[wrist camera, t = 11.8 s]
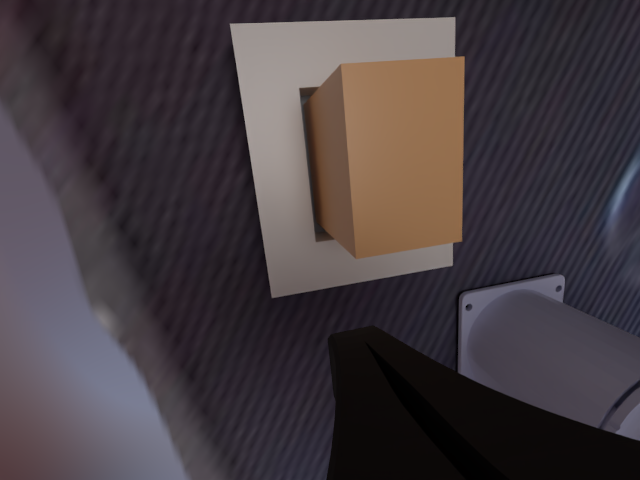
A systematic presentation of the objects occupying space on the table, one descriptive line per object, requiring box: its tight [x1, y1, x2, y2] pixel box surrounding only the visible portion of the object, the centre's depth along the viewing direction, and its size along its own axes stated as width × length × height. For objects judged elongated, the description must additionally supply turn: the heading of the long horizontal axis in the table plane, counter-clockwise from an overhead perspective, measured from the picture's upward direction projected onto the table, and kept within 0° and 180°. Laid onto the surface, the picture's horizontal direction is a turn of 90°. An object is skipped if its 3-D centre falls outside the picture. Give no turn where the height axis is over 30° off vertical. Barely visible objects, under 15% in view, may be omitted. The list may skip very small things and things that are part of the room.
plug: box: [303, 57, 464, 259], centre depth 14 cm, size 6×4×7 cm, turn 6°
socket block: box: [230, 17, 455, 298], centre depth 16 cm, size 12×10×2 cm
